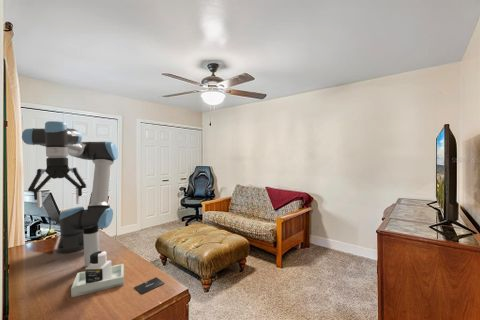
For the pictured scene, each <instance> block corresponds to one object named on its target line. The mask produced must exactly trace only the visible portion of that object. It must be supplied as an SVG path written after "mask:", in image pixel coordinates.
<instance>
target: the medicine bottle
mask: <svg viewBox="0 0 480 320" xmlns="http://www.w3.org/2000/svg"><path fill="white" fill-rule="evenodd" d="M107 255H108V253H107V251H103V250H99V251H98V252H95V253H93V254H91V255H90V265H89V266H88V267H87V268H85V270H84V271H85V276H86V284H88V283H92V282H97V281H102V280H106V279H109V278H110V277H111V276H112V266H113V265H112V260H107V259H108V258H107Z"/></svg>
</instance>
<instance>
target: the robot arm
mask: <svg viewBox="0 0 480 320" xmlns="http://www.w3.org/2000/svg"><path fill="white" fill-rule="evenodd" d="M21 139H22V142H23V143H25V144H26V145H29V146H30V145H31V146H35V145H36V146H37V145H38V146H41V147H45V157H46V160H45V161H46V164H45V165H46V168H44V169H43V168H38V169H37V170H36V175H35V176H34V178H33V180H32V182H31V184H30V185H29V187H28V189H27V191H28V192H32V193H33V197H34V198H33V200H34V201H37V208H38V209H41V208H42V207H43V202H42V201H43V200H42V198H43V196H42V191H40V190H41V189H42V188H43V187H45V185H46V184H47V183H48V182H49V181H50V180H52V179H53V180H55V179H64V178H65V179H66V180H67V181H69V182H70V183H71V184H72V185H73V186H74V187H75V188H76V189H75V200H76V201H75V202H76V205H79V204H80V197H82V195H83V190H82V189H84V188H86V187H87V184H86V182H85V181H84V179H83V177H82V176H81V174H80V173H79V172H78V167H71V168H70V167H69V157H68V156H71V157H74V158H77V159H81V160H87V161H92V163H93V164H94V172H93V181H92V190H91V201H90V203H89V204H88V205H87V208H85V207H84V206H77V207H73V208H72V207H71V208H68V209H64V210H63V211H61V212H59V229H60V230H59V232H60V234H59V238H60V239H59V241H58V243H57V246H56V247H57V248H56V252H57V253H60V254H68V253H70V254H71V253H76V252H78V251H81V250H84V236H83V235H84V234H83V232H84V231H83V228H85V227H88V226H91V225H98V230H101V229H107V228H108V227H110V225H111V224H112V222H113V218H114V210H113V208H111V205H110V204H109V203H108V202H109V186H110V175H111V167H112V166H111V165H113V164H114V161H115V160H117V159H118V156H119V153H118V148H117V146H116V143H114V142H112V141H83V136H82V133H81V132H80V131H79V130H77V129H74V128H68V127H67V123H66V122H64V121H56V120H55V121H54V120H52V121H51V120H50V121H49V120H48V121H46V122H45V123H44V128H35V127H34V128H25V129H24V130H23V131H22V133H21ZM70 172H71V173H73V175H74V176H75V178H76V179H77V181H78V182H79V183H78V182H77V181H76V180H75V179H74V178H72V177H71V175H69V173H70ZM45 173H46V174H47V176H46V177H45V178H44V179H43V180H42V181H41V182H40V183H39V180H40V179H41V177H42V175H44V174H45ZM38 183H39V184H38ZM36 185H38V186H36Z"/></svg>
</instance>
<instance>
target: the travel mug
mask: <svg viewBox="0 0 480 320" xmlns="http://www.w3.org/2000/svg"><path fill="white" fill-rule="evenodd" d="M83 231H84V232H83V234H84V235H83V236H84V249H83V255H84V256H83V257H84V258H83V259H84V268H85V269H86V268H87V267H88V266H89V265H90V255H91V254H93V253H95V252H98V251H100V236H99V235H100V234H99V229H98V225H91V226H88V227H85V228H83Z"/></svg>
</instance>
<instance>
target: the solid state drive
mask: <svg viewBox="0 0 480 320" xmlns="http://www.w3.org/2000/svg"><path fill="white" fill-rule="evenodd" d="M164 285H165V282H164V281H163V280H162V279H160V278H158V277H157V276H156V277H154V278H152V279H150V280H147V281H145V282H143V283H140V284H138V285H136V286H134V287H133V289H134V290H136V291H137V292H138V293H139V294H141V295H144V294H146V293H149V292H151V291H152V290H155V289H157V288H158V287H161V286H164Z"/></svg>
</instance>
